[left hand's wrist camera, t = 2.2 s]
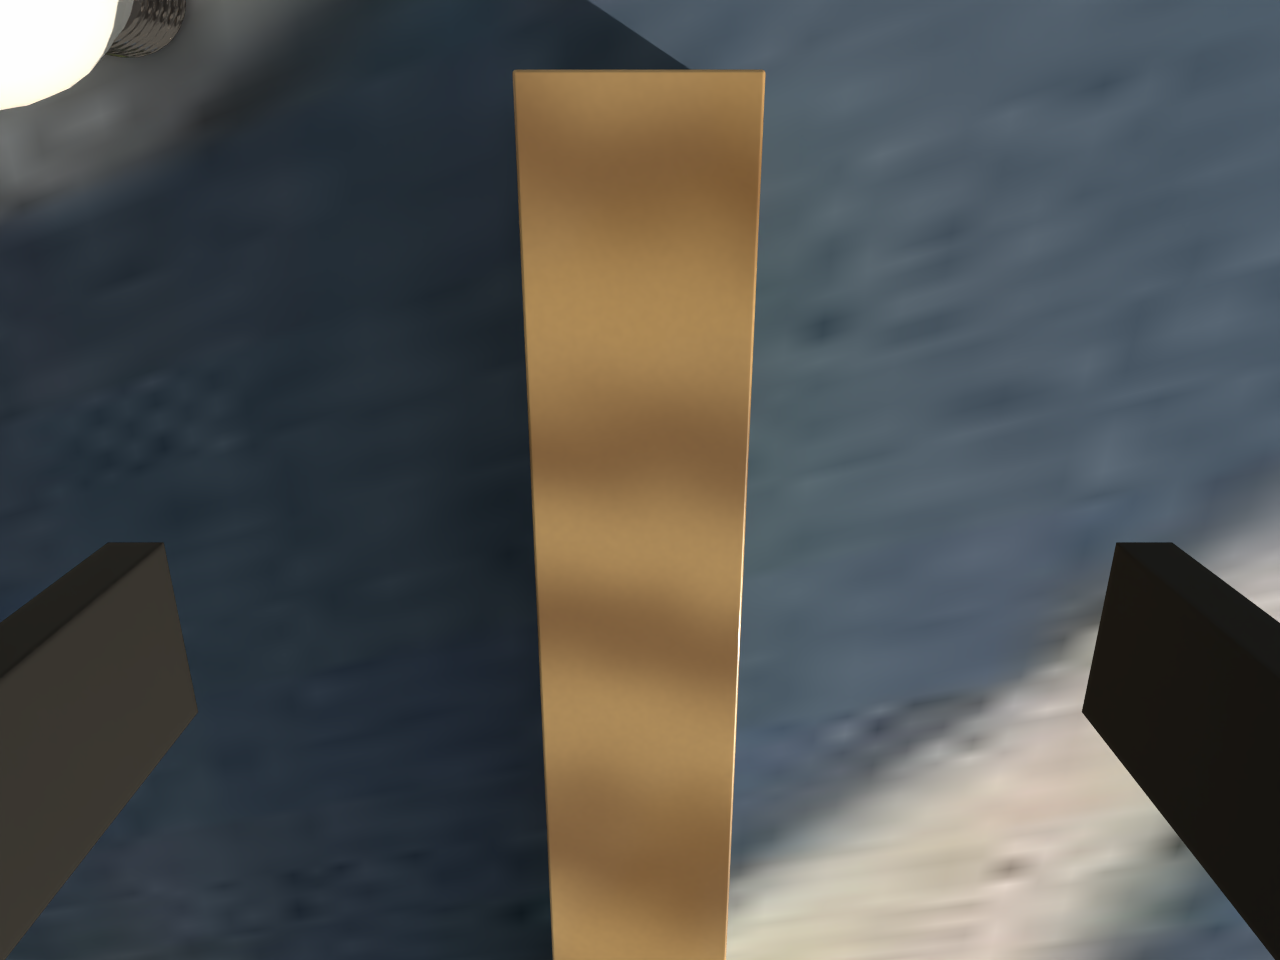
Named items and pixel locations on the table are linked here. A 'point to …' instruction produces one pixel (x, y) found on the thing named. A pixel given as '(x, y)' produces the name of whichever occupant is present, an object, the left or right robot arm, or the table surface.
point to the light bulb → (74, 40)
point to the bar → (639, 487)
